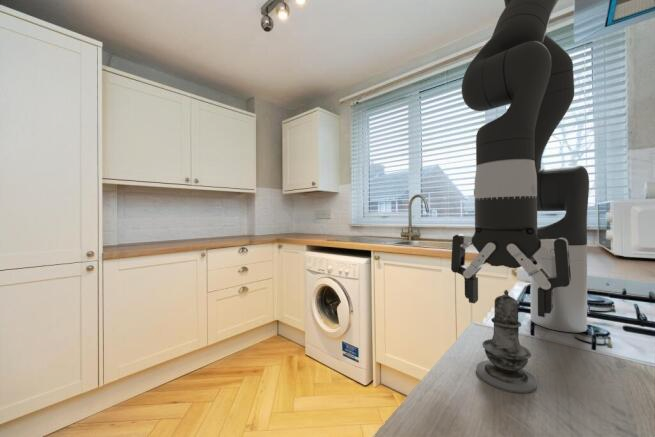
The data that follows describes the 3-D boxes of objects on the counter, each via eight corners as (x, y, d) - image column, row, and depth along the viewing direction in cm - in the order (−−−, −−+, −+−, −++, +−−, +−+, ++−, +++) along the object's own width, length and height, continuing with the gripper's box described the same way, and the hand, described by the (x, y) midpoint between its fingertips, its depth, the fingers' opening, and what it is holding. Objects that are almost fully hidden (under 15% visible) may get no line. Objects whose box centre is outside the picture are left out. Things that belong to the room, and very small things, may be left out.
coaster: (484, 359, 45) (484, 355, 45) (540, 377, 40) (540, 372, 40) (469, 377, 40) (469, 373, 40) (530, 400, 35) (530, 396, 35)
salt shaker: (539, 387, 37) (540, 296, 36) (490, 382, 38) (491, 294, 38) (518, 364, 42) (519, 285, 42) (476, 360, 44) (477, 283, 43)
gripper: (572, 193, 37) (573, 313, 38) (461, 198, 48) (462, 293, 48) (567, 191, 32) (567, 330, 33) (443, 197, 42) (444, 304, 43)
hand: (505, 308), depth 40 cm, fingers open, 8 cm apart
